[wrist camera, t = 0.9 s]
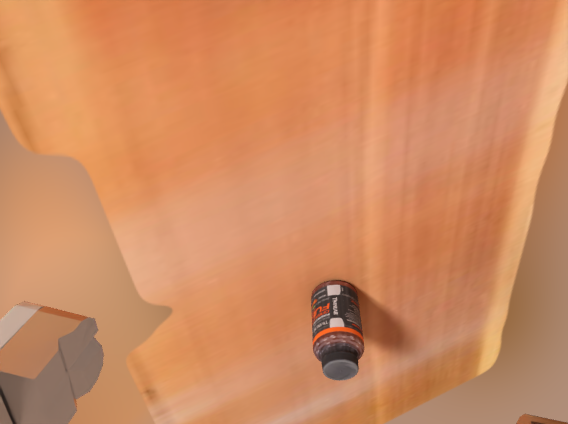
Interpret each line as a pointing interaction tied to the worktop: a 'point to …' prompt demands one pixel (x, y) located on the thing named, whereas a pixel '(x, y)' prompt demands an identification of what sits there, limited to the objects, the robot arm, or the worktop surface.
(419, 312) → the worktop surface
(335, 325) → the supplement bottle
